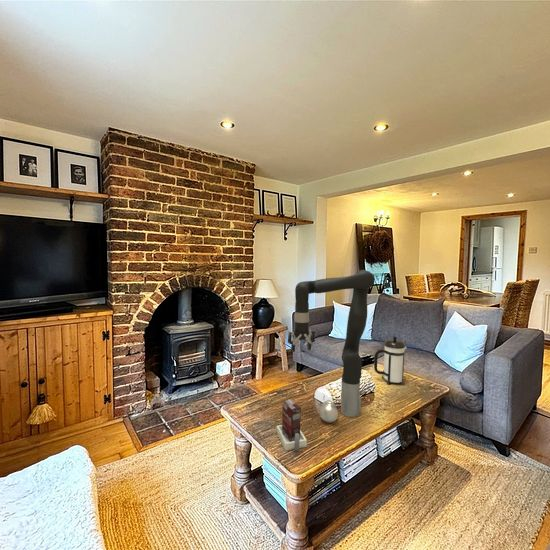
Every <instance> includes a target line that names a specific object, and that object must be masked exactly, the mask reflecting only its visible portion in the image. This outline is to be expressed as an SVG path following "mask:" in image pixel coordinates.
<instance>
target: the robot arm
mask: <svg viewBox="0 0 550 550" xmlns="http://www.w3.org/2000/svg"><path fill="white" fill-rule="evenodd" d="M375 279H376V278H375V275H374V274H373V273H372V272H371V271H370V270H369V271H368V270H366V269H360V270H357V272H355V273H354V274H352V275H348V276H341V277H327V278H320V279H315V280H305V281H299V282H298V283H297V284H296V286H295V289H294V293H295V298H294V299H295V305H294V307H295V308H294V330H293V331H288V332H287V343H288V344H289V345H291V346H290V347H291V351H292V353H295V352H296V345H295V344H296V343H297V342H298V341H302V340H304V341H305V340H306V342H307V347H306V348H307V350H308V351H311V349H312V343H315V342H316V336H315V330H312V329H309V328H310V315H309V314H310V313H309V311H310V309H309V308H310V307H309V306H310V304H309V297H310V294H322V293H323V294H325V293H330V292H335V291H341V290H350V289H351V290H353V291H352V298H351V303H350V307H349V311H348V315H347V317H348V318H347V323H346V334H345V336H346V337H345V342H344V346H343V349H342V353H341V360H342V361H341V362H342V363H343V364H342V368H343V370H342V374H341V388H340V389H341V392H340V394H341V395H340V397H341V398H340V413H341V414H342V415H343V416H346V417H347V418H348V417H349V418H355V417H358V416H359V415H361V411H362V410H361V409H362V396H361V395H360V391H361V379H362V371H363V369H362V367H363V362H362V361H363V360H362V357H361V355H360V342H361V339H362V336H363V334H364V332H365V329H366V325H367V319H368V293H369V289H370V288H372V287H373V286H374V284H375ZM309 335H310V337H309Z"/></svg>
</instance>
